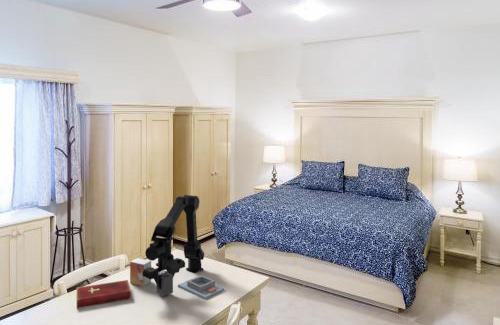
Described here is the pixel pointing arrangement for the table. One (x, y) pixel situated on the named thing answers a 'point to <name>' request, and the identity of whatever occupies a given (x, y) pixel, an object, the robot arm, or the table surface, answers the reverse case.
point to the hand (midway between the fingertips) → (164, 286)
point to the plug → (165, 284)
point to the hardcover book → (103, 293)
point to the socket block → (201, 287)
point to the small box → (139, 271)
